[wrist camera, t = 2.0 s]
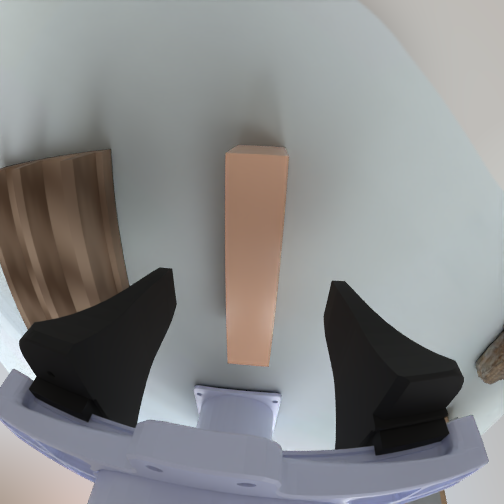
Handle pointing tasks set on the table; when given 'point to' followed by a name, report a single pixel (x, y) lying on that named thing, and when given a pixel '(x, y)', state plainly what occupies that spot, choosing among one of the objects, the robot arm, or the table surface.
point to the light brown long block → (253, 248)
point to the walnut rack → (60, 235)
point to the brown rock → (492, 362)
